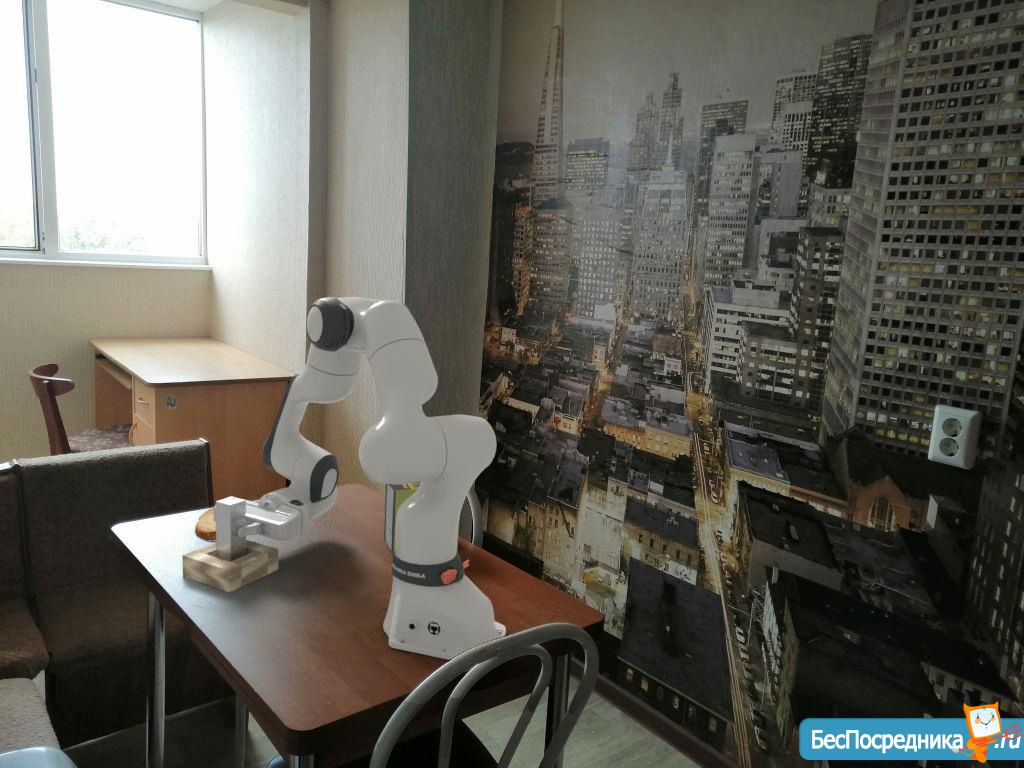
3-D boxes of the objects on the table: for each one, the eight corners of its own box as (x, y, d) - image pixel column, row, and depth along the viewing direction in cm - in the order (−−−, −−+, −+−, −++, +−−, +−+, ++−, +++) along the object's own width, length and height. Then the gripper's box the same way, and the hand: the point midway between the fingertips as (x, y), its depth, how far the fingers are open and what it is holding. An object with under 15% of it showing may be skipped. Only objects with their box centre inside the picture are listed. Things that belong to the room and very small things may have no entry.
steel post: (245, 564, 155) (245, 500, 152) (230, 571, 151) (230, 505, 149) (231, 560, 156) (231, 496, 154) (216, 566, 153) (215, 501, 150)
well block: (278, 569, 157) (278, 549, 156) (229, 592, 145) (229, 570, 145) (233, 555, 162) (233, 535, 162) (182, 576, 151) (182, 555, 150)
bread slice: (206, 544, 168) (205, 529, 168) (177, 521, 181) (177, 506, 180) (281, 528, 180) (281, 513, 180) (249, 507, 193) (249, 493, 193)
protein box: (458, 550, 173) (461, 485, 170) (392, 556, 167) (395, 489, 164) (445, 534, 182) (448, 472, 180) (382, 539, 177) (384, 476, 174)
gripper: (242, 488, 168) (191, 505, 156) (313, 506, 159) (264, 525, 147) (242, 515, 169) (192, 533, 157) (313, 535, 160) (264, 556, 148)
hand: (227, 530), depth 152 cm, fingers closed on steel post, 4 cm apart
